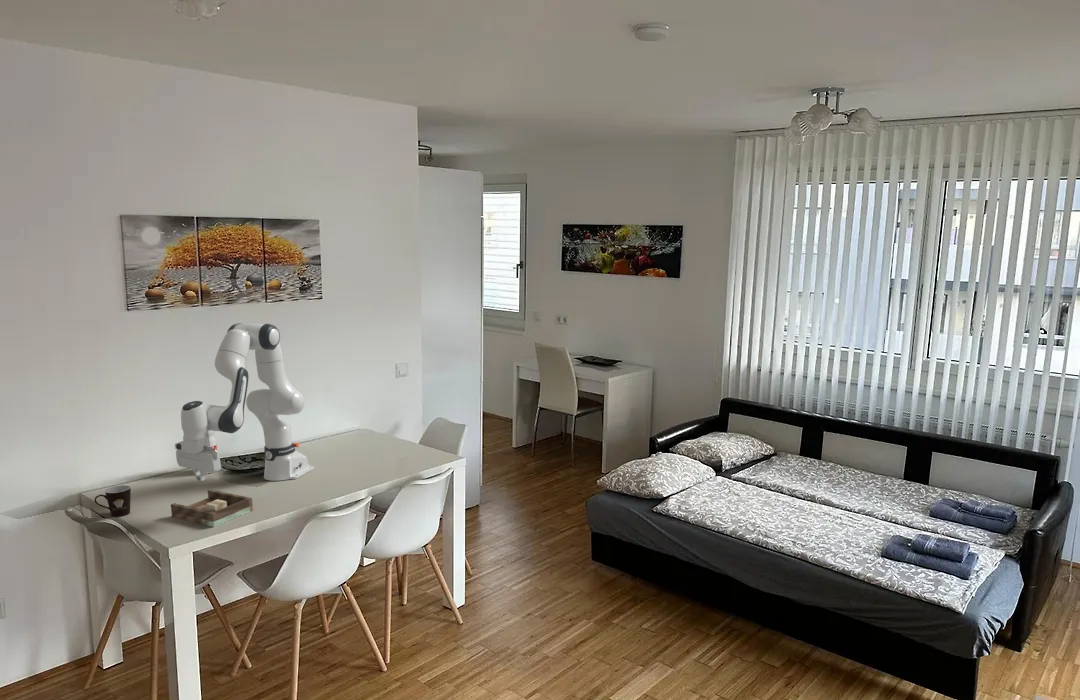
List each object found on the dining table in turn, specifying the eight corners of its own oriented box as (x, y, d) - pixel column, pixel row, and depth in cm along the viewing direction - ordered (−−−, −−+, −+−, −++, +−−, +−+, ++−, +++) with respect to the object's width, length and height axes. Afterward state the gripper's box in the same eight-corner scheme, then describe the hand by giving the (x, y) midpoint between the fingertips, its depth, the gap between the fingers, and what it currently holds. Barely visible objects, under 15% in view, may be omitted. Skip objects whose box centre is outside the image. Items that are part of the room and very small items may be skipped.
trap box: (171, 517, 280) (170, 504, 279) (211, 501, 296) (210, 489, 295) (214, 527, 270) (212, 514, 269) (252, 510, 286) (252, 498, 285)
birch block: (218, 511, 279) (217, 499, 279) (227, 514, 277) (226, 501, 276) (207, 516, 275) (205, 503, 274) (216, 518, 273) (215, 505, 272)
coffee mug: (137, 509, 288) (135, 485, 287) (126, 517, 280) (123, 492, 278) (107, 510, 288) (104, 485, 287) (95, 518, 280) (92, 493, 278)
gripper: (223, 445, 274) (227, 481, 277) (186, 439, 283) (189, 473, 286) (209, 450, 269) (212, 486, 271) (171, 444, 278) (175, 478, 280)
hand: (200, 480), depth 279 cm, fingers closed
